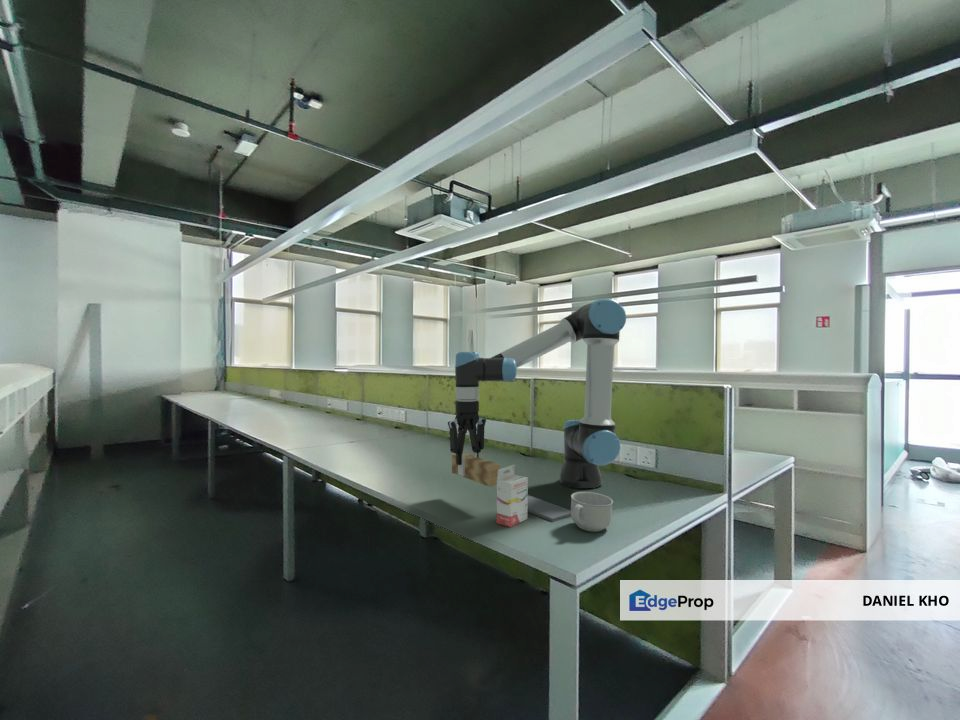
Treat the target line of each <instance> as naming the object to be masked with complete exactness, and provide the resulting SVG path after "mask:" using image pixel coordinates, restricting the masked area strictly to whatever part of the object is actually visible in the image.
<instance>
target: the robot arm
mask: <svg viewBox="0 0 960 720" xmlns="http://www.w3.org/2000/svg"><path fill="white" fill-rule="evenodd" d="M626 322H627V315H626V310H625V308H624V307H623V305H621V304H620V302H619V301H617V300H615V299H612V298H603V299H602V298H601V299H597V300H594V301H592V302H590V303H587V304H585V305H583V306H581V307H579V308H578V309H576V310H575V311H574V312H571V314H569V315H567V316H565V317H563V318H561V319H560V323H557V324H555V325H554V326H552V327H551V326H550V327H549V328H548V329H545V330H544V331H541V332H540V333H537V334H535V335H533V336H531V337H530V338H528V339H525V340H524V341H521V342H520V343H517V344H515V345H513V346H512V347H509V348H507V349H505V350H504V351H502V352H499V353H498V354H495V355H494V356H492V357H480V354H479V352H478V351H459V352H457V353H456V354H455V365H454V367H455V368H454V371H455V372H454V373H455V377H454V378H455V418H454V420H452V421H447V425H448V428H449V445H450V446H449V447H450V449H449V450H450V453H452V454H456V464H457V465H458V474H459V475H458V476H460V475H462V476H465V455H464V454H462V453H464V447H465V440H466V435H467V432H468V435H469V439H470V446H471V450H472V451H470V452H469V455H471V456H475V457H478V458H480V456H479V453H481V452H482V450H484V448H485V426H486V423H487V419H486V418H482V417H480V415H479V412H480V401H479V399H480V382H504V383H505V382H513V381H515V380H516V378H517V370H518V368H520V367H523V366H524V365H526V364H528V363H530V362H532V361H534V360H535V359H538V358H540V357H542V356H545V355H546V354H548V353H550V352H553V351H554V350H556V349H559V348H560V347H562V346H564V345H567V343H573V344H574V343H576V342H578V341H580V340H583V342H584V343H585V344H586V346H587V350H586V365H585V367H586V369H585V387H584V388H585V389H584V390H585V391H584V411H583V413H584V414H583V417H582V418H581V419H571V420H566V421H565V422H564V424H563V425H564V426H563V435H564V436H563V439H564V440H563V448H564V449H563V451H564V453H563V455H564V457H563V458H564V461H563V464H562V467H561V470H560V471H561V472H560V474H559V484H561V485H562V484H563V486H564V485H565V487H567V486H569V487H568V488H571V487H573V489H578V488H593V489H597V488H596V487H598V488H600V487H599V486H601V485H602V486H603V477H602V475H601V471H600V468H599V466H607V465H609V464H611V463H613V462H614V461H615V460H616V459H617V458H618V457H619V454H620V451H621V442H620V439H619V438H618V436H617V435H616V423H615V421H614V420H613V419H612V401H613V399H612V397H613V380H614V379H613V378H614V377H613V376H614V356H615V355H614V354H615V352H614V351H615V346H616V345H617V344H618V343H619V342H620V332H621V331H622V329H623V328H624V327H625V325H626ZM462 476H461V477H462ZM602 486H601V487H602Z"/></svg>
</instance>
